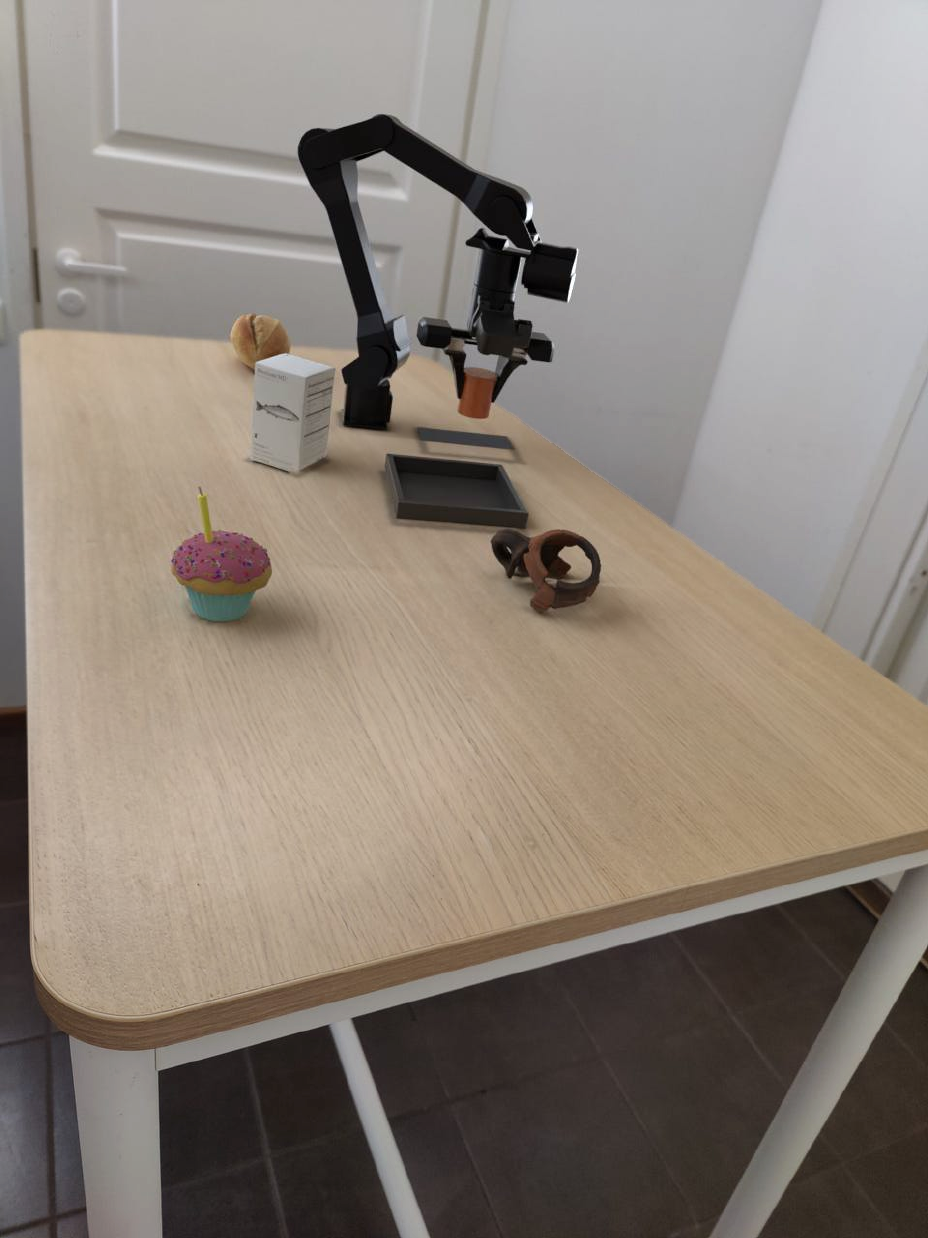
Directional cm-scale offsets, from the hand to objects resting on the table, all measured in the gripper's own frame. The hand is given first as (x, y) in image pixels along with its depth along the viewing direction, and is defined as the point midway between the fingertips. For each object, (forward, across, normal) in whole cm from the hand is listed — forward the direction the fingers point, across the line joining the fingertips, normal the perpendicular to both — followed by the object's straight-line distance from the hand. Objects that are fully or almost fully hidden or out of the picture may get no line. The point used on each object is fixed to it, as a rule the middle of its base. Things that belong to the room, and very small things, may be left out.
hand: (475, 400), depth 127 cm
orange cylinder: (+2, 0, 0) cm, 2 cm away
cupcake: (+7, -32, -51) cm, 61 cm away
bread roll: (+7, -31, +30) cm, 44 cm away
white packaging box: (+7, -26, -13) cm, 30 cm away
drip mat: (+7, 0, 0) cm, 7 cm away
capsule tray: (+7, -6, -22) cm, 24 cm away
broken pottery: (+7, 0, -44) cm, 45 cm away
